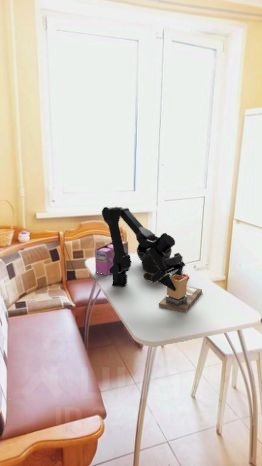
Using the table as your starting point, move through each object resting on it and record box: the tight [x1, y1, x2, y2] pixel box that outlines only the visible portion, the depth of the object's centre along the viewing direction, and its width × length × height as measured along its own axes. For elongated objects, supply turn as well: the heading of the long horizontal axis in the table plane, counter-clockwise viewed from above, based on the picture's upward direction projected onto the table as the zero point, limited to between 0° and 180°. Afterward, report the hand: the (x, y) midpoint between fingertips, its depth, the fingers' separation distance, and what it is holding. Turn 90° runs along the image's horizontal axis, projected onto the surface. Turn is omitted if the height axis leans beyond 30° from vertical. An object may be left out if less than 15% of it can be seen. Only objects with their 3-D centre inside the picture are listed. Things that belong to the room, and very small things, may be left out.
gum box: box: [94, 240, 129, 276], centre depth 187 cm, size 24×8×14 cm, turn 150°
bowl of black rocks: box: [136, 233, 173, 262], centre depth 190 cm, size 20×20×19 cm
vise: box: [165, 295, 187, 306], centre depth 144 cm, size 7×10×6 cm
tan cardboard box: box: [166, 274, 188, 299], centre depth 142 cm, size 6×6×8 cm
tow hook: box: [181, 255, 190, 280], centre depth 173 cm, size 8×13×9 cm
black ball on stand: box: [141, 254, 159, 282], centre depth 173 cm, size 13×13×15 cm
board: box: [158, 286, 203, 314], centre depth 149 cm, size 23×12×2 cm, turn 152°
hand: (179, 288), depth 141 cm, fingers closed on tan cardboard box, 6 cm apart
